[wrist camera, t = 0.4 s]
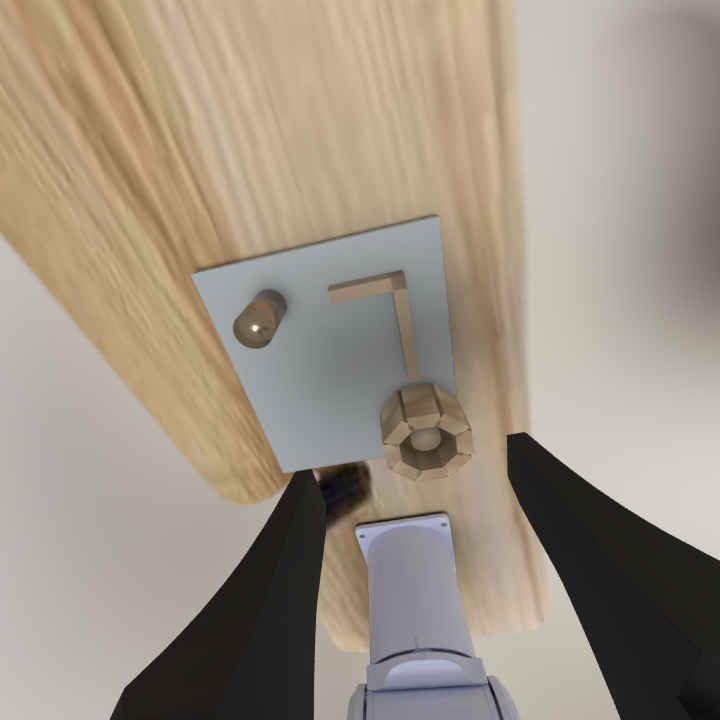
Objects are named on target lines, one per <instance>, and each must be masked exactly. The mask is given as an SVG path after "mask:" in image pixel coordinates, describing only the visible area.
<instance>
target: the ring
mask: <svg viewBox="0 0 720 720" xmlns="http://www.w3.org/2000/svg"><path fill="white" fill-rule="evenodd" d="M380 422H381V433H382V443H383V449H384V453H385V457H386V461H387V465H388V467H390V468H391V470H392V471H394V472H396V473H398V474H400V475H402V476H404V477H407V478H409V479H411V480H413V481H415V480H416V479H417V478H418V480H419V482H420V481H426V480H433V479H439V478H445V477H448V475H447V473H448V474H451V475H453V474H454V473H455V472H456V471H457V470H458V469H459V468H460V467H461V466H463V465H464V464H465V463H466V462H467V461H468V460H469V459H470V458H471V454H473V442H472V430H471V428H470V426H469V423H468V421H467V419H466V417H465V415H464V412H463V410H462V408H461V406H460V404H459V401H458V399H456V396H454V395H452V394H451V393H449V392H447V391H445V390H444V389H442V388H440V387H439V386H437V385H435V384H433V385H432V386H431V387H430V384H429V383H426V384H420V385H415V386H410V387H404V388H401V393H400V392H399V391H397V390H396V392H395V393H394V394H393V395H392V397H391V398H390V399H389V400H388V401H387V403H386V404H385V405H384V406H383V407H382V409H381V413H380ZM435 426H438V427H439V428H438V430H439V433H440V436H441V441H440V443H439V445H438V446H437V447H436V448H434V449H432V450H429V451H420V450H417V449H415V448H414V447H413V446H412V444H411V439H410V435H409V434H410V433H411V432H412V431H413V430H417V429H423V428H429V427H435Z"/></svg>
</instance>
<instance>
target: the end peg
mask: <svg viewBox="0 0 720 720" xmlns="http://www.w3.org/2000/svg"><path fill="white" fill-rule="evenodd" d="M286 311H287V303H286V300H285V298H284V297H283V296H282V295H281V294H280V293H279V292H277V291H275V290H271V289H266V290H262V291H260V292H259V293H258V294H257V295H256V296H255V297H254V298H253V300H252V301H251V302H250V303H249V304H248V305H247V307H246V308H245V309H244V310H243V311H242V312H241V314H240V315H239V316H238V317H237V318H236V319H235V321H234V324H233V333H234V335H235V337H236V339H237V340H238V341H239V342H240V343H241V344H242V345H244V346H246V347H248V348H252V349H260V348H263V347H265V346H267V345H268V344H269V343H270V342H271V340H272V338H273V336H274V334H275V332H276V331H277V329H278V327H279V325H280V323H281V321H282V319H283V317H284V315H285V314H286Z"/></svg>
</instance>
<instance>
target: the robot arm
mask: <svg viewBox="0 0 720 720" xmlns="http://www.w3.org/2000/svg"><path fill="white" fill-rule="evenodd" d="M507 461H508V477H509V480H510V482H511V485H512V487H513V490H514V492H515V494H516V497H517V499H518V501H519V504H520V506H521V507H522V509H523V511H524V513H525V515H526V517H527V518H528V520H529V522H530V524H531V526H532V527H533V529H534V531H535V533H536V535H537V536H538V538H539V540H540V542H541V544H542V545H543V547H544V549H545V551H546V553H547V554H548V556H549V558H550V560H551V562H552V563H553V565H554V567H555V569H556V571H557V573H558V574H559V577H560V579H561V581H562V583H563V585H564V587H565V589H566V591H567V593H568V596H569V598H570V600H571V603H572V605H573V607H574V609H575V611H576V614H577V616H578V618H579V620H580V623H581V625H582V627H583V630H584V632H585V634H586V637H587V639H588V641H589V643H590V646H591V648H592V650H593V653H594V655H595V657H596V660H597V662H598V664H599V667H600V670H601V672H602V674H603V677H604V679H605V681H606V684H607V686H608V689H609V691H610V694H611V696H612V698H613V701H614V704H615V706H616V709H617V711H618V714H619V716H620V719H621V720H720V561H719V560H717V559H715V558H713V557H712V556H710V555H708V554H706V553H704V552H702V551H700V550H698V549H696V548H695V547H693V546H691V545H689V544H687V543H685V542H683V541H681V540H679V539H678V538H676V537H674V536H672V535H670V534H668V533H667V532H665V531H663V530H661V529H659V528H658V527H656V526H654V525H653V524H651V523H649V522H647V521H646V520H644V519H642V518H641V517H639V516H638V515H636V514H635V513H633V512H631V511H630V510H628V509H627V508H625V507H623V506H622V505H620V504H619V503H617V502H616V501H614V500H613V499H611V498H610V497H609V496H607V495H606V494H604V493H603V492H601V491H600V490H598V489H597V488H595V487H594V486H593V485H591V484H590V483H589V482H587V481H586V480H584V479H583V478H582V477H580V476H579V475H578V474H576V473H575V472H574V471H572V470H571V469H570V468H569V467H567V466H566V465H565V464H563V463H562V462H561V461H560V460H558V459H557V458H556V457H554V456H553V455H552V454H551V453H550V452H549V451H547V450H546V449H545V448H544V447H542V446H541V445H540V444H539V443H538V442H536V441H535V440H534V439H533V438H532V437H531V436H529V435H528V434H527V433H525V432H522V433H517V434H511V435H507ZM355 534H356V536H357V539H358V542H359V545H360V547H361V550H362V553H363V556H364V558H365V561H366V564H367V566H368V590H369V626H370V663H371V665H367V684H358V686H357V687H356V690H355V692H354V693H353V695H352V696H351V698H350V701H349V706H348V715H347V720H521V719H520V717H519V714H518V711H517V709H516V706H515V704H514V701H513V699H512V697H511V695H510V693H509V692H508V690H507V689H506V688H505V687H504V686H503V685H502V684H501V683H500V681H499V680H498V679H497V678H496V677H495V676H487V677H486V673H485V670H484V666H483V661H482V659H481V658H476V656H475V652H474V648H473V644H472V640H471V636H470V632H469V628H468V624H467V620H466V616H465V611H464V607H463V603H462V599H461V595H460V591H459V587H458V583H457V579H456V577H457V573H456V566H455V558H454V551H453V544H452V537H451V530H450V522H449V517H448V515H447V514H444V513H442V514H435V515H428V516H421V517H414V518H407V519H401V520H394V521H387V522H380V523H373V524H366V525H360V526H357V527H356V528H355ZM325 536H326V503H325V500H324V498H323V496H322V493H321V491H320V488H319V486H318V483H317V481H316V478H315V476H314V474H313V471H312V469H306V470H300V471H296V472H295V473H294V475H293V477H292V479H291V480H290V482H289V484H288V486H287V488H286V490H285V491H284V493H283V495H282V497H281V498H280V500H279V502H278V504H277V506H276V507H275V509H274V511H273V512H272V514H271V516H270V517H269V519H268V521H267V523H266V524H265V526H264V528H263V529H262V531H261V532H260V533H259V535H258V537H257V538H256V540H255V541H254V543H253V544H252V546H251V547H250V549H249V550H248V552H247V553H246V555H245V556H244V558H243V559H242V560H241V562H240V563H239V564H238V566H237V567H236V568H235V570H234V571H233V572H232V574H231V575H230V576H229V578H228V579H227V580H226V582H225V583H224V584H223V585H222V587H221V588H220V589H219V590H218V591H217V593H216V594H215V595H214V596H213V598H212V599H211V600H210V601H209V602H208V604H207V605H206V606H205V607H204V608H203V609H202V611H201V612H200V613H199V614H198V615H197V616H196V617H195V618H194V619H193V621H191V623H190V624H189V625H188V626H187V627H186V628H185V629H184V630H183V631H182V632H181V633H180V634H179V635H178V636H177V638H176V639H175V640H174V641H173V642H172V643H171V644H170V645H169V646H168V647H167V648H166V649H165V650H164V651H163V652H162V653H161V654H160V655H159V656H158V657H157V658H156V659H155V660H154V661H152V662H151V663H150V664H149V665H148V666H147V667H146V668H145V669H144V670H143V671H142V672H141V673H140V674H139V675H138V676H137V677H136V678H135V679H134V680H133V681H132V682H131V683H129V684H128V685H127V687H125V688H124V691H123V693H122V694H121V697H120V699H119V701H118V703H117V705H116V707H115V709H114V711H113V713H112V716H111V718H110V720H314V662H315V659H314V658H315V631H316V611H317V600H318V592H319V584H320V576H321V568H322V560H323V552H324V544H325Z"/></svg>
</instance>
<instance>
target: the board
mask: <svg viewBox="0 0 720 720" xmlns="http://www.w3.org/2000/svg"><path fill="white" fill-rule="evenodd" d="M191 277H192V279H193V281H194V283H195V285H196V287H197V289H198V292H199V294H200V296H201V298H202V300H203V302H204V304H205V306H206V309H207V311H208V313H209V315H210V317H211V319H212V321H213V324H214V326H215V328H216V330H217V332H218V334H219V336H220V339H221V341H222V343H223V345H224V347H225V349H226V351H227V353H228V356H229V358H230V360H231V362H232V364H233V366H234V368H235V371H236V373H237V375H238V377H239V379H240V381H241V383H242V385H243V388H244V390H245V392H246V394H247V396H248V398H249V400H250V403H251V405H252V407H253V409H254V411H255V413H256V415H257V418H258V420H259V422H260V424H261V426H262V428H263V430H264V432H265V435H266V437H267V439H268V441H269V443H270V445H271V447H272V450H273V452H274V454H275V456H276V458H277V460H278V462H279V465H280V467H281V469H282V471H283V473H288V472H294V471H300V470H306V469H313V468H319V467H325V466H331V465H337V464H343V463H349V462H355V461H361V460H367V459H373V458H379V457H385V453H384V449H383V443H382V433H381V422H380V413H381V409H382V407H383V406H384V405H385V404H386V403H387V401H388V400H389V399H390V398H391V397H392V395H393V394H394V393H395V392H396V390H397V391H399V392H400V393H401V388H404V387H410V386H415V385H420V384H426V383H429V384H430V387H431V386H432V385H433V384H435V385H437V386H439V387H440V388H442V389H444V390H445V391H447V392H449V393H451V394H452V395H454V396H456V386H455V376H454V365H453V355H452V344H451V334H450V323H449V313H448V302H447V292H446V281H445V271H444V260H443V250H442V239H441V229H440V218H439V216H437V215H433V216H429V217H425V218H420V219H416V220H412V221H408V222H403V223H399V224H395V225H391V226H386V227H382V228H378V229H374V230H369V231H365V232H361V233H356V234H352V235H348V236H344V237H339V238H335V239H331V240H327V241H322V242H318V243H314V244H310V245H305V246H301V247H297V248H292V249H288V250H284V251H280V252H275V253H271V254H267V255H263V256H258V257H254V258H250V259H246V260H241V261H237V262H233V263H229V264H224V265H220V266H216V267H211V268H207V269H203V270H199V271H196V272H194V273H193V274H191ZM266 289H271V290H275V291H277V292H279V293H280V294H281V295H282V296H283V297H284V298H285V300H286V303H287V311H286V314H285V315H284V317H283V319H282V321H281V323H280V325H279V327H278V329H277V331H276V332H275V334H274V336H273V338H272V340H271V342H270V343H269V344H268V345H267V346H265V347H263V348H260V349H252V348H248V347H246V346H244V345H242V344H241V343H240V342H239V341H238V340H237V339H236V337H235V335H234V333H233V324H234V321H235V319H236V318H237V317H238V316H239V315H240V314H241V312H242V311H243V310H244V309H245V308H246V307H247V305H248V304H249V303H250V302H251V301H252V300H253V298H254V297H255V296H256V295H257V294H258V293H259V292H260V291H262V290H266ZM456 399H457V397H456ZM438 428H439V427H438V426H435V427H429V428H423V429H417V430H413V431H412V432H411V433H410V434H409V435H410V439H411V444H412V446H413V447H414V448H415V449H417V450H420V451H429V450H432V449H434V448H436V447H437V446H438V445H439V443H440V441H441V436H440V433H439V430H438Z"/></svg>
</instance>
